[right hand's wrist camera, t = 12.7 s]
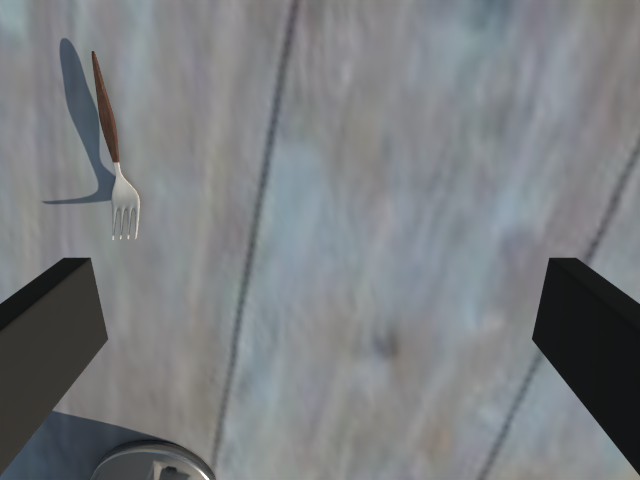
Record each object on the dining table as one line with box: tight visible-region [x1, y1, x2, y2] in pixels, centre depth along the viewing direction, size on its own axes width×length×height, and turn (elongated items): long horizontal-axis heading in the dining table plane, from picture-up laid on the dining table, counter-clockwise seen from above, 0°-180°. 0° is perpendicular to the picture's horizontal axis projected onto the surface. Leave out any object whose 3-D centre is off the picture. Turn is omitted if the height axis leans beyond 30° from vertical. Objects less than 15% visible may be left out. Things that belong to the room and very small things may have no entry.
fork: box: [92, 51, 140, 240], centre depth 37 cm, size 3×16×2 cm, turn 2°
